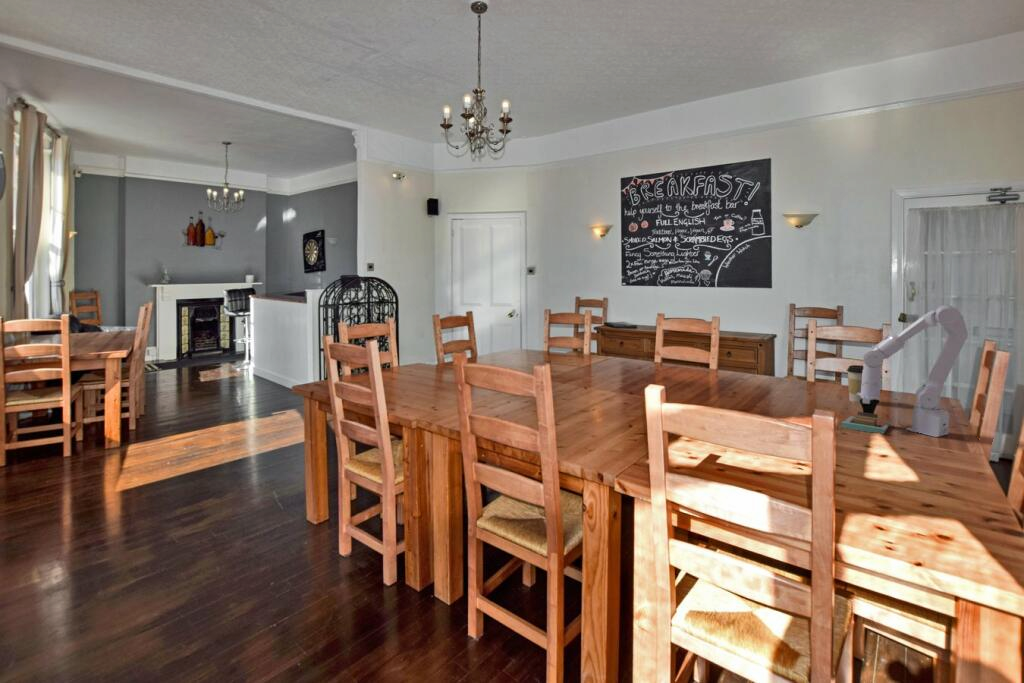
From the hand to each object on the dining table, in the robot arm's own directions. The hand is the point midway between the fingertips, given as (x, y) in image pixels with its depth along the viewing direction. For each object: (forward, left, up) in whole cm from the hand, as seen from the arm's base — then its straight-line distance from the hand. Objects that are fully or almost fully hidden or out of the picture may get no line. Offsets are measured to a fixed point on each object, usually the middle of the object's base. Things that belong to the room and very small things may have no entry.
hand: (868, 419), depth 193 cm
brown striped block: (-2, +4, -2) cm, 5 cm away
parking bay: (-2, +4, -2) cm, 5 cm away
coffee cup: (+21, -32, -2) cm, 38 cm away
